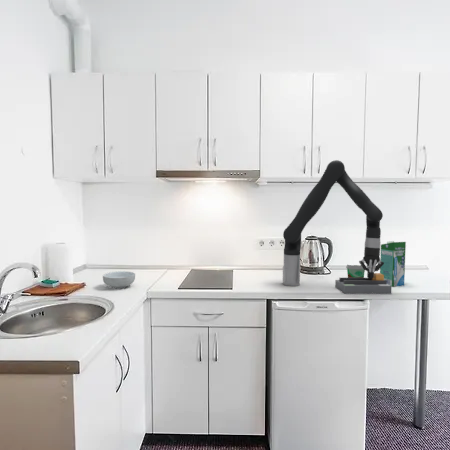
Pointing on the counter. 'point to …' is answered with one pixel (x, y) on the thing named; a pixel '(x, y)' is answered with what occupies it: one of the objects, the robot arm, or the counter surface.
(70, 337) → the counter surface
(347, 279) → the switch plate
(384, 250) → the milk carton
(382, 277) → the switch knob
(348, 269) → the food container
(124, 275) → the cereal bowl
